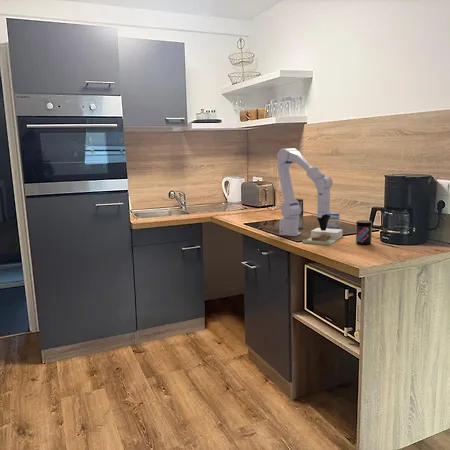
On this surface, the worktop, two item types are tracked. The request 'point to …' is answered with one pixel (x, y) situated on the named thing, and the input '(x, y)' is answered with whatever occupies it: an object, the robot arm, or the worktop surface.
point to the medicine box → (333, 221)
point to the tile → (321, 237)
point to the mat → (328, 242)
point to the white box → (328, 232)
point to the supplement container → (363, 232)
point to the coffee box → (301, 213)
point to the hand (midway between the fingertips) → (323, 230)
